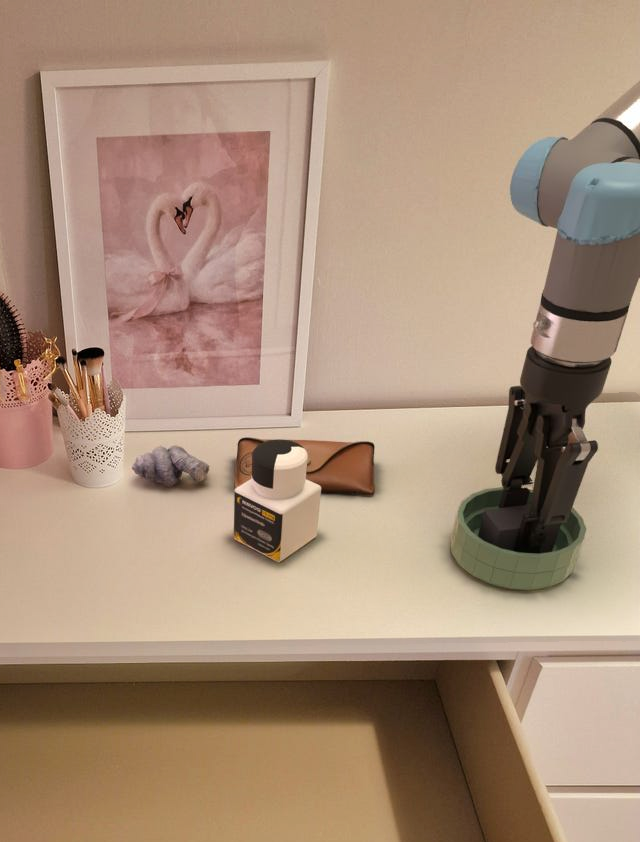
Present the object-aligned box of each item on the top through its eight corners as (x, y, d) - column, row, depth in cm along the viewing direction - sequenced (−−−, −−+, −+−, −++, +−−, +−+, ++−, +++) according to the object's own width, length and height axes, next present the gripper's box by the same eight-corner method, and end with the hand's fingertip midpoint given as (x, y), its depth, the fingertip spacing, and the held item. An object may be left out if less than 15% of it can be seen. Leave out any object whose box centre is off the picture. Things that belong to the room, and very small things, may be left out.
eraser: (533, 539, 99) (544, 502, 96) (550, 559, 96) (562, 522, 93) (474, 546, 99) (483, 509, 95) (490, 567, 96) (500, 530, 93)
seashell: (210, 485, 114) (134, 491, 114) (207, 444, 114) (131, 450, 114) (211, 481, 109) (132, 487, 109) (208, 438, 108) (128, 444, 108)
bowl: (538, 516, 104) (549, 480, 100) (595, 584, 94) (609, 547, 91) (432, 530, 102) (439, 494, 99) (479, 600, 93) (489, 563, 89)
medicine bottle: (232, 539, 103) (233, 450, 95) (271, 514, 106) (276, 425, 98) (278, 564, 99) (284, 473, 91) (317, 537, 103) (326, 447, 94)
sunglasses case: (233, 490, 110) (235, 436, 108) (235, 488, 116) (237, 437, 115) (378, 494, 108) (382, 439, 106) (371, 492, 114) (375, 440, 113)
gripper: (492, 319, 88) (450, 513, 103) (579, 396, 75) (516, 603, 91) (562, 312, 88) (510, 505, 104) (660, 386, 76) (583, 593, 92)
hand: (513, 550), depth 97 cm, fingers closed on eraser, 4 cm apart
